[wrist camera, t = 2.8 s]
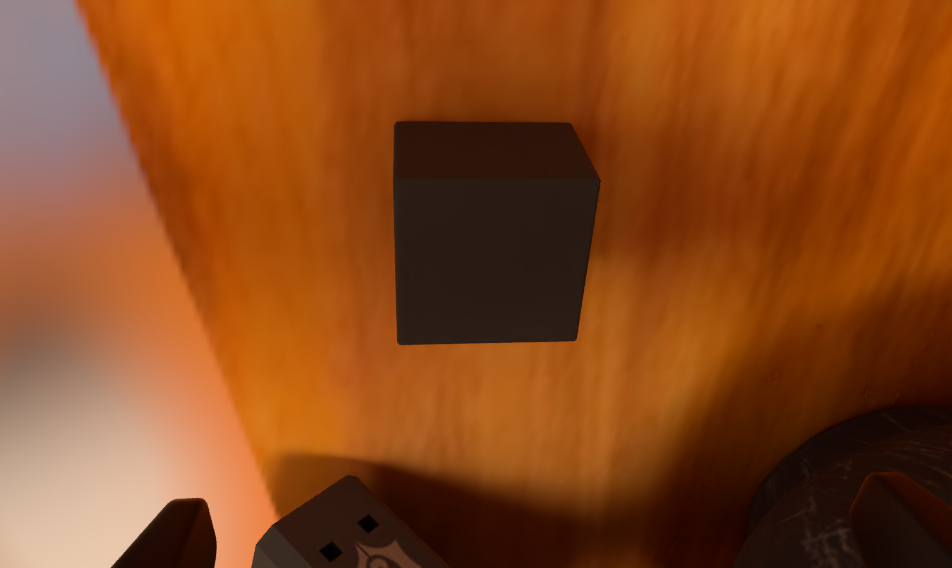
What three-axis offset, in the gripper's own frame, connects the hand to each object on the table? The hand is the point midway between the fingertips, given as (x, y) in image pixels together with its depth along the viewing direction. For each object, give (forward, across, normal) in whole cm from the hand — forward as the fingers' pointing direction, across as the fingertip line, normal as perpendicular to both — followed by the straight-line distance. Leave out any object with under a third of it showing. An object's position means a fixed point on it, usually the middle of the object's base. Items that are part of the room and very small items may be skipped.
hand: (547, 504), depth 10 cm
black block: (+9, 0, 0) cm, 9 cm away
